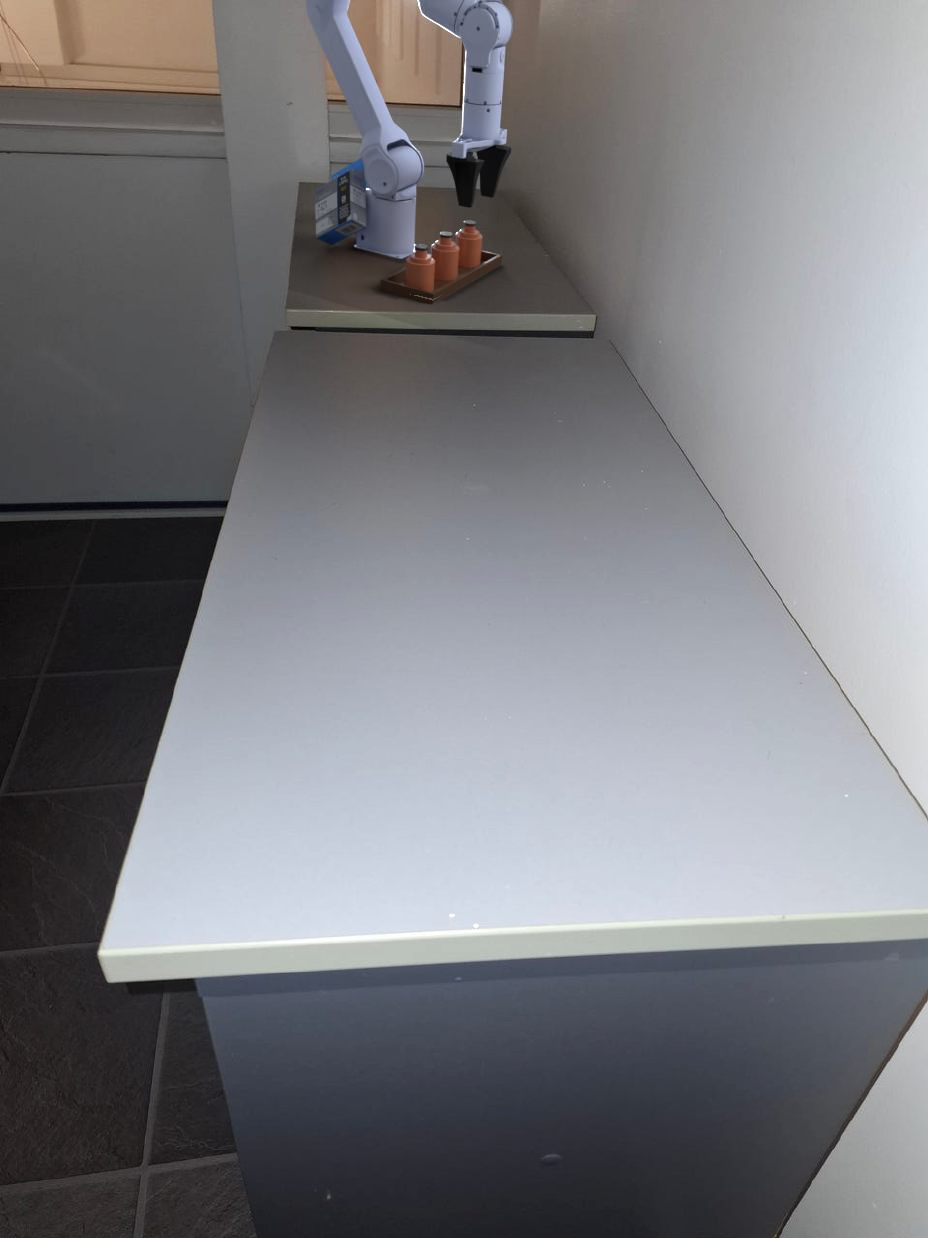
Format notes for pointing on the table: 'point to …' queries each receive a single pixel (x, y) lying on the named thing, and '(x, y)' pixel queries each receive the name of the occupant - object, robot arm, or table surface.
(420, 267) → the loose bottle
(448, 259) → the bottle middle
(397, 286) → the tray
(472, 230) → the bottle back
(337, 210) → the ink cartridge box
